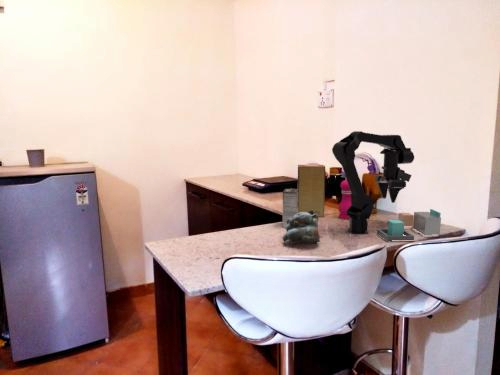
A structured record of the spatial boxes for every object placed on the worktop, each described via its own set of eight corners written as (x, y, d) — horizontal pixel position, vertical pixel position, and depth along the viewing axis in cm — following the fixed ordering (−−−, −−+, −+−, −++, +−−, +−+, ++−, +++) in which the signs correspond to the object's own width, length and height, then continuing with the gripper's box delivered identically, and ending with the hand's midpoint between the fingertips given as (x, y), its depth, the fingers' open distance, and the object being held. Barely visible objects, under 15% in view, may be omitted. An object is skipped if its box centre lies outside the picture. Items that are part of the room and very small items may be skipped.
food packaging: (322, 212, 187) (324, 164, 183) (324, 217, 178) (326, 166, 174) (296, 212, 188) (297, 164, 184) (297, 216, 179) (298, 166, 175)
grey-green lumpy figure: (275, 244, 136) (276, 208, 141) (294, 249, 145) (294, 215, 150) (309, 240, 127) (309, 202, 132) (327, 246, 135) (326, 210, 140)
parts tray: (386, 241, 139) (387, 236, 139) (376, 234, 149) (377, 228, 149) (413, 241, 139) (414, 236, 139) (401, 233, 149) (402, 228, 149)
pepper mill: (353, 216, 179) (355, 176, 176) (353, 220, 172) (355, 178, 169) (338, 215, 181) (339, 175, 178) (337, 219, 174) (339, 177, 171)
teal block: (391, 238, 142) (392, 223, 141) (387, 234, 146) (387, 220, 145) (403, 237, 142) (404, 222, 141) (398, 234, 146) (399, 220, 145)
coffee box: (284, 222, 168) (284, 188, 165) (298, 223, 167) (299, 188, 164) (282, 227, 159) (282, 191, 157) (296, 228, 158) (297, 192, 155)
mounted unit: (424, 237, 144) (426, 214, 143) (412, 230, 154) (414, 208, 153) (440, 237, 145) (442, 213, 143) (427, 230, 154) (429, 208, 153)
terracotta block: (402, 228, 157) (403, 215, 156) (397, 226, 161) (398, 212, 160) (412, 228, 157) (413, 215, 156) (407, 225, 162) (408, 212, 161)
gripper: (420, 166, 146) (417, 204, 148) (399, 162, 164) (397, 196, 166) (392, 166, 145) (390, 205, 148) (375, 162, 164) (373, 196, 166)
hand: (388, 200), depth 157 cm, fingers open, 9 cm apart
